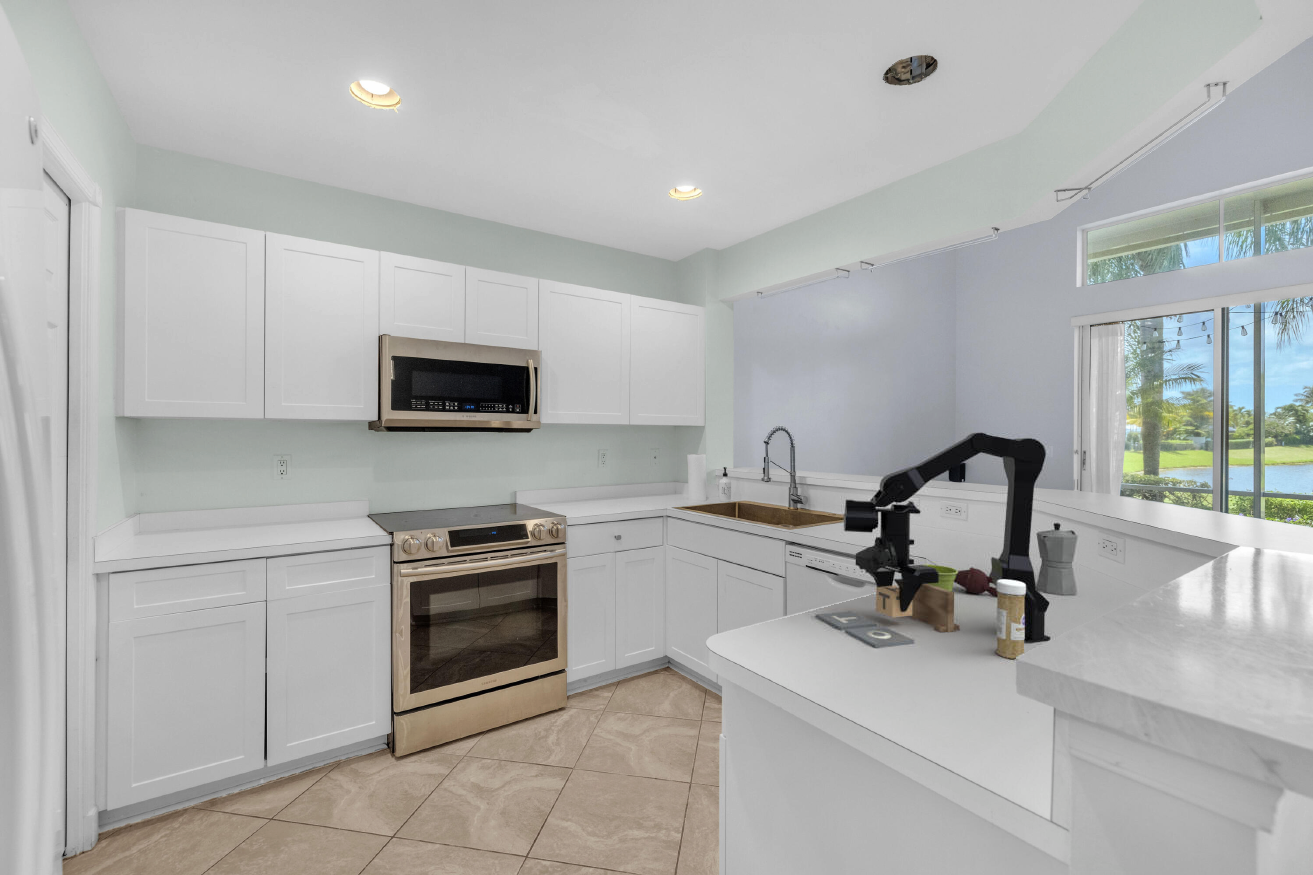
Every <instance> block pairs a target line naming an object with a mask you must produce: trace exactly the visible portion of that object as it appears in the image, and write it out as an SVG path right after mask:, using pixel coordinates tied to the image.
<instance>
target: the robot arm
mask: <svg viewBox="0 0 1313 875" xmlns="http://www.w3.org/2000/svg"><path fill="white" fill-rule="evenodd" d="M980 453H982V454H986V455H990V456H993V457H998V458H1002V463H1003V464H1002V465H1003V469H1004V473H1005V476H1006V479H1007V484H1008V485H1007V496H1006V509H1005V520H1004V523H1005V524H1004V533H1003V534H1004V536H1003V548H1002V551H1001V554H1000V555H999V557H994V556H992V557H991V558H990V561H991V570H990V572H989V575H988V576H990V577H992V578H993V583H994V584H993V583H992V584H993V585H994V586H995V587H994V588H996V585H997V580H1001V579H1006V580H1015V581H1020V582H1023V583H1024V584H1025V585H1026V594H1024V595H1025V597H1024V614H1025V639H1024V643H1034V642H1042V641H1049V640H1051V636H1048V635H1046V634H1045V628H1046V627H1045V623H1046V622H1045V621H1046V620H1045V618H1046V615H1045V614H1046V612H1047V610H1048V608H1049V605H1050V601H1049V600H1048V599H1047V598H1046V597H1045V596H1044V595H1042V593H1040V591H1039V590H1037V589H1036V587H1037V584H1036V578H1035V571H1034V567H1033V564H1032V561H1031V557H1030V545H1031V543H1030V542H1031V532H1032V522H1033V521H1032V520H1033V519H1032V518H1033V505H1034V494H1035V493H1034V492H1035V484H1036V482H1037V480H1038V478H1039V477H1040V475H1041V473H1042V471H1043V467H1044V463H1045V461H1046V456H1047V450H1046V447H1045V445H1044V444H1043V443H1042V442H1040V441H1039V440H1037V439H1035V438H1032V437H1027V438H1026V437H1023V438H1022V437H1021V438H1018V437H1017V438H1012V439H1011V438H1005V437H1002V436H1001V437H1000V436H994V435H990V434H987V433H985V432H972V433H970V434H968V435H967V436H965V438H963V439H961V440H959V441H958V442H956V443H954V444H952V445H951V446H949V447H947V448H945V449H944V450H943V449H942V451H940V452H938V453H937V454H934V455H932V456H930V457H928V458H927V459H925V460H923V461H921V462H920V463H918V464H916V465H913V466H910V467H907V468H904V469H900V470H897V471H895V472H892V473H889V474H886V475H884V476H883V477H882V479H881V480H880V483H879V489H878V490H877V492H876V493H875V494H874V495H873V496H872V498H870V500H869V501H868V500H854V499H845V503H844V504H845V506H844V513H843V530H844V531H843V532H850V533H871V534H872V533H873V530H876V529H878V527H879V513H880V536H877V537H875V539H874V545H872V546H869V547H866V548H864V549H862V550H860V551H859V552H856V553H855V566H857V567H858V568H859V569H860V570H864V571H865V572H866V573H868V574H869V576H871V577H872V578H873V579H874V582H875V584H876V587H884V586H893V584H894V582H895V583H896V586H898V587H899V596H900V609H901V611H902V612H906V611H907V609H908V607H909V605H910V603H911V602H912V600H913V598H914V596H915V594H916V593H917V591H918V590H919V588H920V587H921V586H922V584H929V583H939V572H938V571H937V570H936V569H935V568H932V567H929V566H925V565H926V564H916V565H915V559H913V558H911V556H910V551H911V550H910V546H914V545H915V539H913V538H911V537H910V535H911V534H910V533H911V514H915V515H916V514H917V515H918V514H919V515H920V514H921V510H920V509H919V508H917V507H916V505H915V504H914V502H913V501H912V500H909V499H910V498H912V497H913V496H914V495H915V494H917V493H918V492H919V491H920V490H921V489H922V488H924V486H925V485H927V483H928V482H930V481H931V480H933V479H935V478H938V476H941V475H942V474H944V473H946V472H947V471H949V470H951V469H953V468H955V467H957V466H958V465H961V464H962V463H964V462H966V461H968V460H969V459H972V458H973V457H975V456H977V455H979V454H980ZM907 500H909V501H908V502H907ZM904 502H907V503H906V504H901V503H904ZM893 503H894V504H893ZM890 505H891V506H890ZM888 506H890V508H889V507H888ZM887 507H888V508H887ZM896 573H898V574H900V576H901V578H895V574H896Z"/></svg>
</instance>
